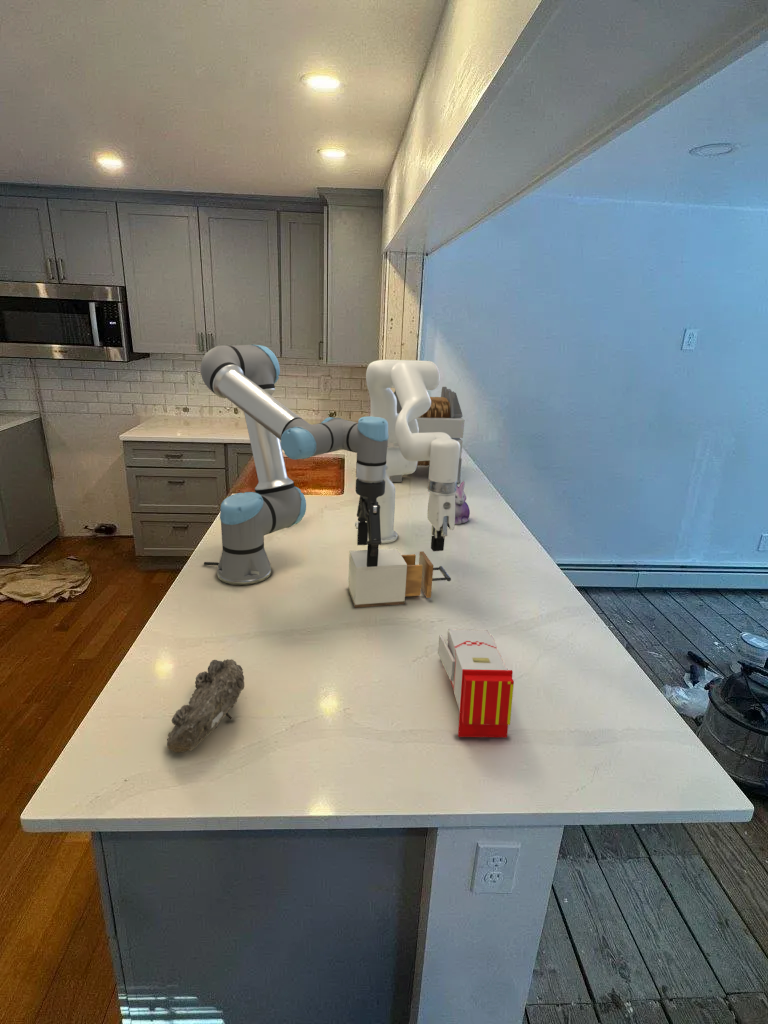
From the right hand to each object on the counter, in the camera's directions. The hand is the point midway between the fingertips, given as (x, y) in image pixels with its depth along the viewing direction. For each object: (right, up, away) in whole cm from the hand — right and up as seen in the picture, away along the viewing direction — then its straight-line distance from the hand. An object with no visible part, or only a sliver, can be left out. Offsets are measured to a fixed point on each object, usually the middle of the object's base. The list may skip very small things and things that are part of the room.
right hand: (437, 549), depth 155 cm
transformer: (+3, +29, +120) cm, 123 cm away
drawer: (-6, -12, +3) cm, 13 cm away
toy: (+3, -27, -36) cm, 46 cm away
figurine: (+14, +7, +60) cm, 62 cm away
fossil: (-47, -29, -47) cm, 73 cm away
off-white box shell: (-17, -13, +1) cm, 21 cm away
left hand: (-19, -1, -4) cm, 20 cm away
